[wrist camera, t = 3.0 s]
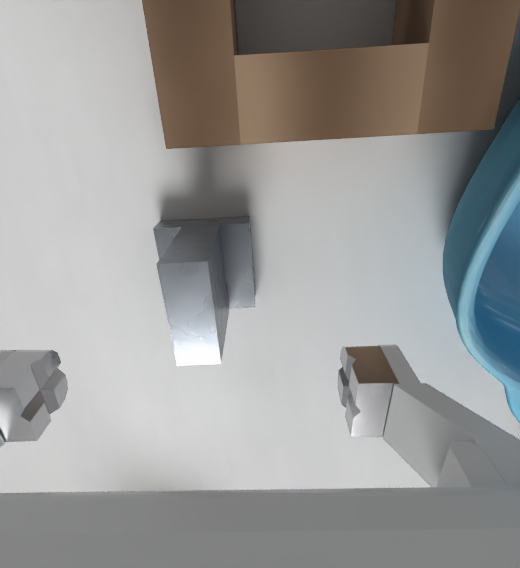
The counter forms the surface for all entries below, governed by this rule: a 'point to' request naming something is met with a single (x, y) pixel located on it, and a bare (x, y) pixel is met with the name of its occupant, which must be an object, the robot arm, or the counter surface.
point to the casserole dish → (490, 261)
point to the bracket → (204, 282)
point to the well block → (329, 76)
